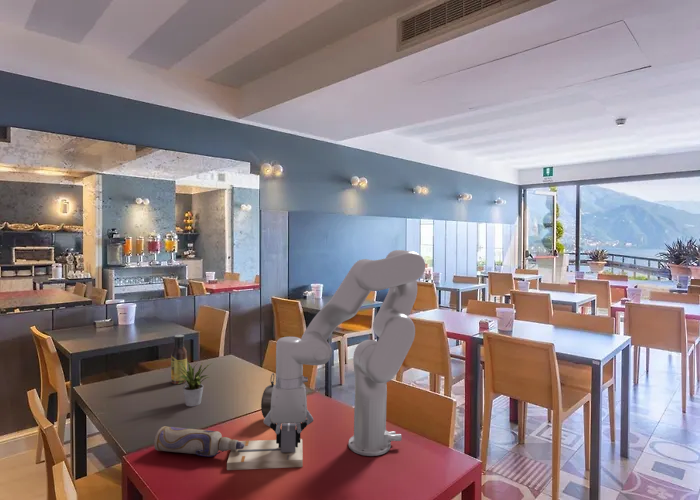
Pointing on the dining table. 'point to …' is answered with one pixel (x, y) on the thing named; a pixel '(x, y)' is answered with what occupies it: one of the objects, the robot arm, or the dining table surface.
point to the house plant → (192, 385)
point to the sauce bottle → (178, 359)
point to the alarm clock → (267, 399)
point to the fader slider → (288, 437)
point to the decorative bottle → (193, 441)
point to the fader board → (264, 456)
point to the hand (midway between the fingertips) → (288, 444)
